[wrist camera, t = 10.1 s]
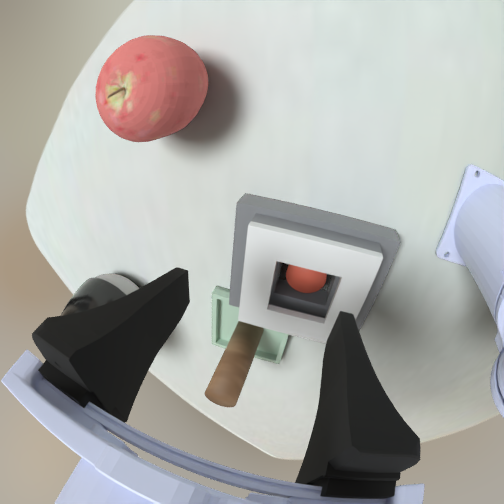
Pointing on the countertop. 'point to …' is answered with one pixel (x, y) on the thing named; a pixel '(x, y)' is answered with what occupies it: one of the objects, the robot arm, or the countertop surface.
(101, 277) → the pump dispenser
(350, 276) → the box
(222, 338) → the rest tray
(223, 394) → the brown wooden cylinder
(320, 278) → the button
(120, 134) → the apple
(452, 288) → the countertop surface
